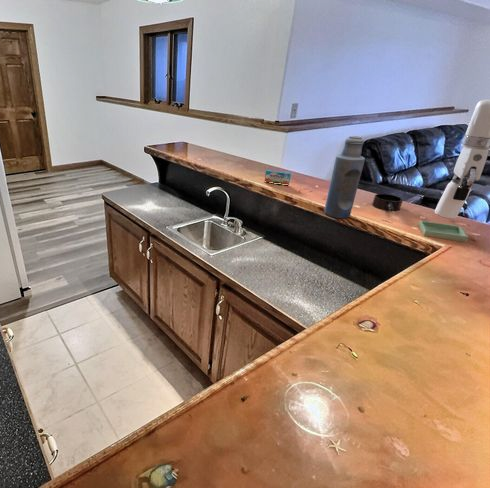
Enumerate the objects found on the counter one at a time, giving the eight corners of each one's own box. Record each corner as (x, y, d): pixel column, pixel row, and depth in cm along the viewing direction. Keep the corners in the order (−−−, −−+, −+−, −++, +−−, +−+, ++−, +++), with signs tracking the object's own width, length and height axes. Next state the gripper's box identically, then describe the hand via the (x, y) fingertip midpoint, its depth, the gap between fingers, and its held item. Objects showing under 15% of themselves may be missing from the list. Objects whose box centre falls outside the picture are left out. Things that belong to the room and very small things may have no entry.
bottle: (330, 218, 134) (349, 138, 121) (319, 209, 143) (336, 134, 130) (354, 218, 135) (376, 139, 121) (342, 209, 144) (361, 134, 130)
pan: (397, 204, 150) (400, 195, 148) (404, 219, 135) (407, 209, 133) (371, 201, 154) (374, 192, 152) (375, 215, 138) (377, 205, 137)
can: (433, 209, 125) (449, 177, 119) (455, 214, 122) (472, 181, 116) (434, 215, 120) (450, 182, 114) (457, 221, 117) (475, 187, 111)
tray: (458, 231, 125) (460, 226, 124) (466, 242, 117) (468, 237, 116) (418, 225, 130) (419, 220, 129) (423, 235, 121) (425, 230, 121)
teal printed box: (264, 182, 177) (265, 170, 175) (265, 182, 179) (266, 170, 176) (288, 186, 172) (290, 174, 169) (289, 185, 173) (291, 173, 171)
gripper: (503, 148, 101) (477, 206, 109) (483, 138, 115) (461, 191, 123) (471, 145, 104) (448, 202, 112) (455, 136, 118) (436, 188, 126)
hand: (455, 196), depth 117 cm, fingers closed on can, 6 cm apart
